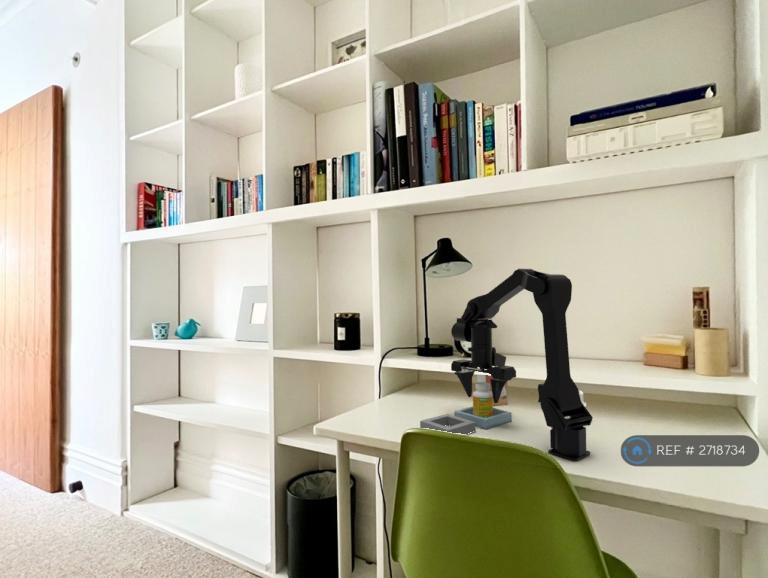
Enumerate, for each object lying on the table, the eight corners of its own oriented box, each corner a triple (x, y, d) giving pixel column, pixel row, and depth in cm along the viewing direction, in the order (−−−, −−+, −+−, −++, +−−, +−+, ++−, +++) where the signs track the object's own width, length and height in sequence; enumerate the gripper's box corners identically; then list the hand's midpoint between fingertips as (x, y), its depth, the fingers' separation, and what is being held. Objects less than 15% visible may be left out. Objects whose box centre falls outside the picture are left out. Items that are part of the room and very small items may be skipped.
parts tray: (511, 421, 118) (511, 412, 118) (485, 429, 112) (485, 419, 112) (480, 412, 127) (480, 404, 127) (454, 420, 120) (454, 411, 120)
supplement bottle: (477, 422, 116) (477, 386, 116) (470, 416, 121) (469, 382, 121) (496, 420, 117) (496, 385, 117) (487, 415, 122) (487, 381, 123)
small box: (485, 406, 134) (485, 373, 134) (477, 402, 139) (476, 370, 139) (508, 404, 136) (507, 371, 136) (499, 400, 141) (498, 368, 142)
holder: (475, 431, 110) (475, 422, 110) (448, 440, 104) (448, 430, 104) (447, 422, 118) (447, 413, 118) (420, 430, 112) (420, 420, 112)
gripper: (527, 344, 117) (528, 401, 117) (474, 339, 132) (475, 389, 132) (502, 347, 110) (503, 408, 110) (449, 342, 125) (450, 395, 125)
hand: (482, 399), depth 119 cm, fingers open, 9 cm apart
